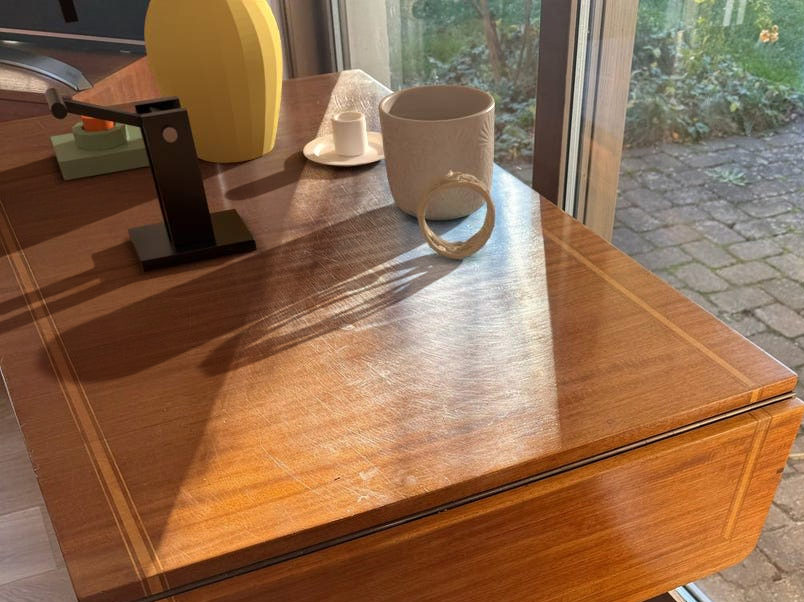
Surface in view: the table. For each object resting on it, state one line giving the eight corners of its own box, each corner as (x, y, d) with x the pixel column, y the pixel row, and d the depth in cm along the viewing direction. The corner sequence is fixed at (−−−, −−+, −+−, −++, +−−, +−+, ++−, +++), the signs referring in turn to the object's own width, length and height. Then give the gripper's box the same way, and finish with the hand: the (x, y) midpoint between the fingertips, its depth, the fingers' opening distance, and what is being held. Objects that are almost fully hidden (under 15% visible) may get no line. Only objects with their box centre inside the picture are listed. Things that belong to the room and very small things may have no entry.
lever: (50, 123, 92) (51, 95, 90) (44, 107, 95) (45, 80, 94) (182, 149, 98) (185, 123, 96) (172, 133, 101) (175, 108, 100)
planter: (393, 234, 107) (383, 126, 99) (383, 191, 116) (373, 88, 108) (504, 223, 108) (503, 116, 100) (486, 181, 117) (484, 80, 109)
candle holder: (372, 176, 119) (369, 138, 116) (286, 165, 122) (280, 128, 119) (413, 142, 127) (411, 106, 124) (331, 133, 130) (327, 97, 127)
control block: (64, 180, 121) (53, 146, 118) (55, 154, 127) (44, 121, 124) (162, 163, 124) (154, 129, 121) (148, 139, 130) (140, 106, 127)
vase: (178, 179, 120) (111, -106, 100) (164, 137, 131) (101, -128, 111) (308, 160, 123) (267, -119, 103) (283, 120, 134) (243, -139, 114)
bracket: (144, 272, 102) (104, 130, 92) (130, 239, 108) (91, 102, 98) (257, 249, 105) (230, 109, 95) (237, 219, 111) (210, 84, 101)
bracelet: (497, 258, 102) (496, 178, 96) (421, 263, 102) (415, 184, 96) (493, 242, 105) (491, 163, 99) (419, 247, 104) (413, 169, 99)
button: (86, 135, 121) (82, 120, 120) (83, 126, 124) (78, 111, 122) (116, 131, 122) (112, 115, 121) (112, 122, 125) (107, 107, 123)
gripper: (-77, -246, 94) (15, 35, 110) (63, -256, 97) (132, 19, 114) (-79, -250, 99) (10, 20, 115) (54, -260, 102) (121, 4, 119)
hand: (70, 19), depth 115 cm, fingers closed
